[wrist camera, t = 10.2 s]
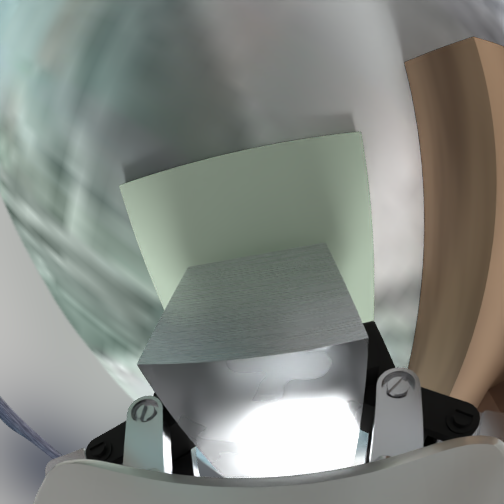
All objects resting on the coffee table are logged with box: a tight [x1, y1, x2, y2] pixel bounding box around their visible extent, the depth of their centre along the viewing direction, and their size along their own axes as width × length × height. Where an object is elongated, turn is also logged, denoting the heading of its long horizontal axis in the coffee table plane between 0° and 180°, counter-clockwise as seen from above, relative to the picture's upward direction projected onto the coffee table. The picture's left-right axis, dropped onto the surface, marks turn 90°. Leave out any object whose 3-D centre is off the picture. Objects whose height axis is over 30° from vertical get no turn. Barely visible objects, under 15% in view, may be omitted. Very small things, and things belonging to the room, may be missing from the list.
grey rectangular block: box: [137, 243, 369, 477], centre depth 9 cm, size 5×7×5 cm
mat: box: [119, 132, 374, 323], centre depth 13 cm, size 10×14×1 cm
